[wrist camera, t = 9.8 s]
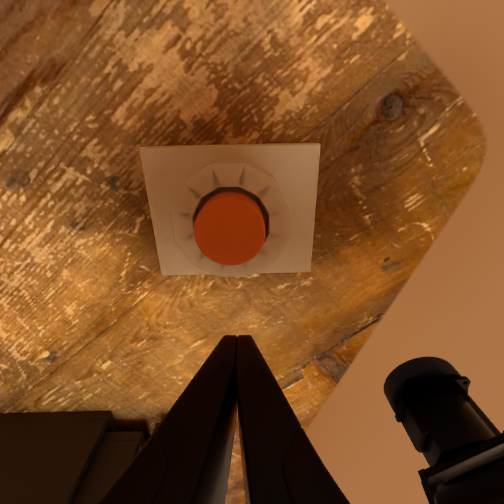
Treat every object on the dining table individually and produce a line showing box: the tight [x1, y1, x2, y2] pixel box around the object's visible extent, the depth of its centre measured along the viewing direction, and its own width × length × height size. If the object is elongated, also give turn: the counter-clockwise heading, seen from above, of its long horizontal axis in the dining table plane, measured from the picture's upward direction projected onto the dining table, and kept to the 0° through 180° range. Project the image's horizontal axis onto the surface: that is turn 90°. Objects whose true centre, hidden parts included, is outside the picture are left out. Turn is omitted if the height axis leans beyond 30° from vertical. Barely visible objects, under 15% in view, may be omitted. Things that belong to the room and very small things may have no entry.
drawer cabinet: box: [0, 411, 118, 504], centre depth 25 cm, size 14×12×9 cm
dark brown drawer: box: [70, 423, 160, 504], centre depth 25 cm, size 17×10×7 cm, turn 91°
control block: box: [139, 143, 320, 277], centre depth 16 cm, size 10×8×4 cm
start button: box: [194, 191, 266, 265], centre depth 14 cm, size 4×4×2 cm
